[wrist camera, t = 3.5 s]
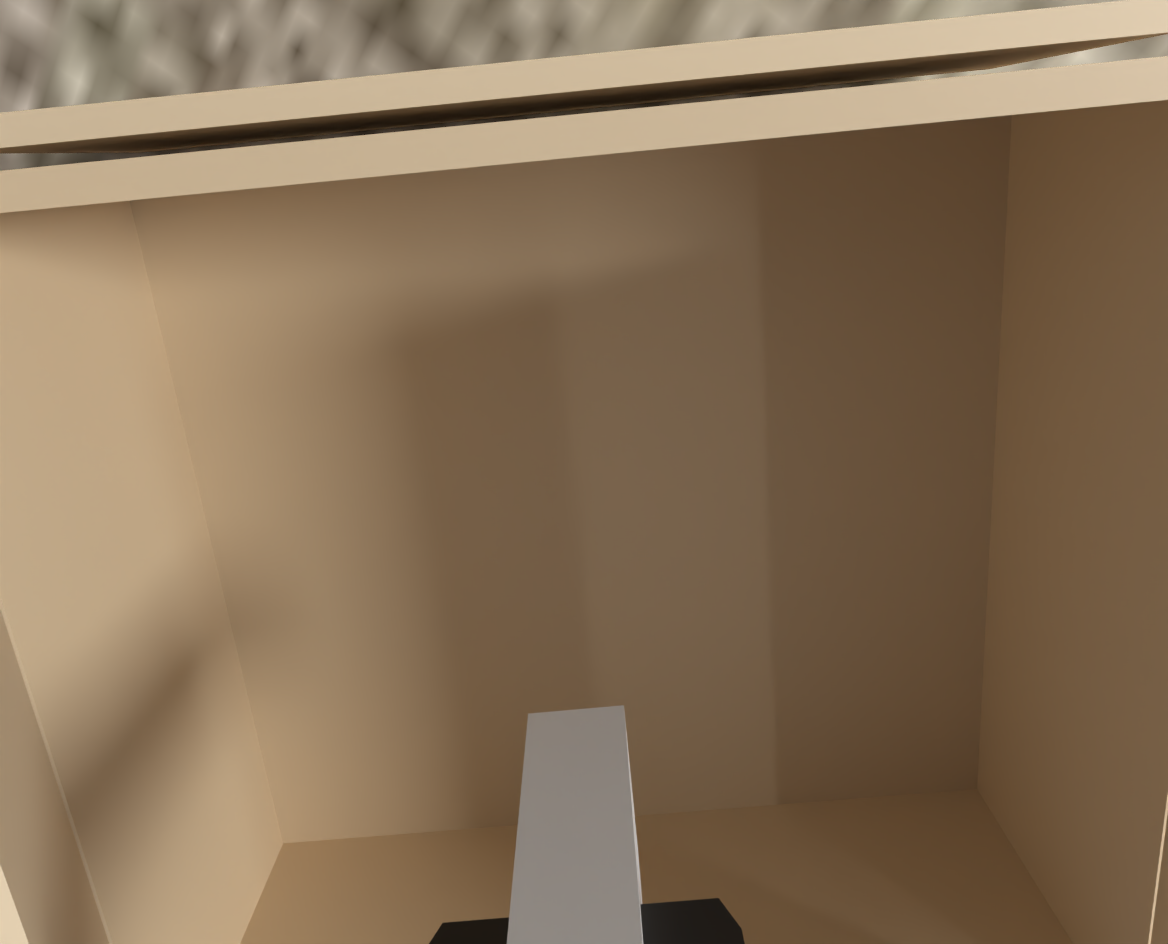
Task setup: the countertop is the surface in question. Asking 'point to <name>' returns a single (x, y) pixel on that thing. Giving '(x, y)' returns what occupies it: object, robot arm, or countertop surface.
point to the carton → (606, 483)
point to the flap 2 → (1162, 899)
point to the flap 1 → (36, 831)
